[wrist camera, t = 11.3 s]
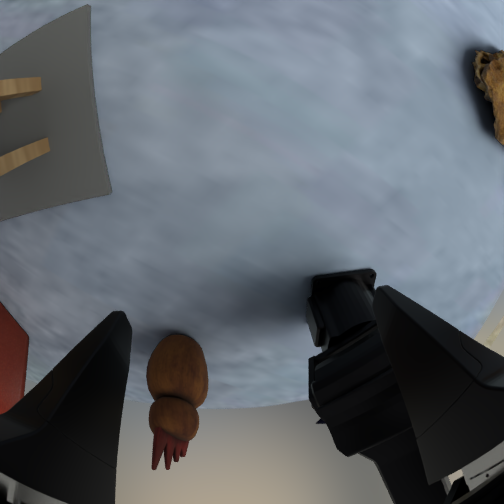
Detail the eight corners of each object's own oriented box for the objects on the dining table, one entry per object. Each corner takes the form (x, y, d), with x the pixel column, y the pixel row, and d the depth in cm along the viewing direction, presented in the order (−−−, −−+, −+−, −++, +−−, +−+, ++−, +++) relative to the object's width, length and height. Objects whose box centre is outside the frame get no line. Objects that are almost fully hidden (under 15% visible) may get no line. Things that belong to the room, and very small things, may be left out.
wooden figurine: (147, 327, 27) (119, 460, 14) (198, 322, 27) (188, 467, 14) (168, 364, 31) (156, 479, 18) (214, 361, 31) (214, 483, 18)
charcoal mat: (90, 5, 11) (87, 4, 11) (112, 191, 19) (109, 194, 19) (-31, 82, 11) (-35, 82, 10) (-5, 221, 19) (-8, 223, 19)
